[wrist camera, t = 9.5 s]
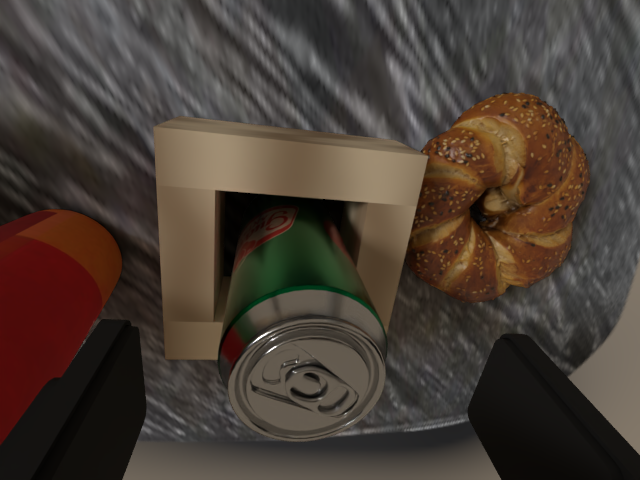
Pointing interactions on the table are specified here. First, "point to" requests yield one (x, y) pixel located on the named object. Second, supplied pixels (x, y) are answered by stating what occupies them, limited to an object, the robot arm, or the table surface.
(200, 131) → the holder
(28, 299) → the paper cup
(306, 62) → the table surface
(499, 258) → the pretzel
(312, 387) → the soda can
